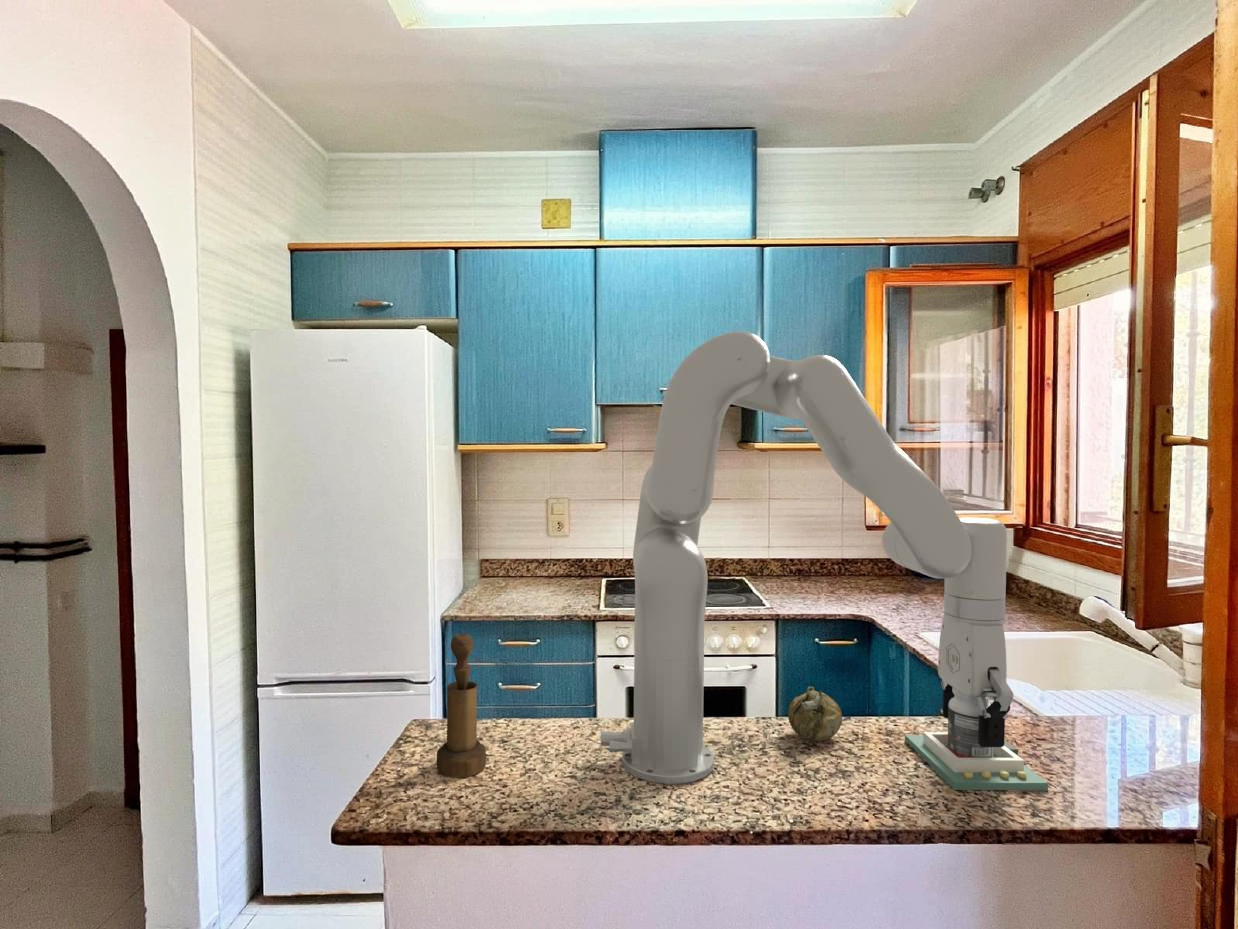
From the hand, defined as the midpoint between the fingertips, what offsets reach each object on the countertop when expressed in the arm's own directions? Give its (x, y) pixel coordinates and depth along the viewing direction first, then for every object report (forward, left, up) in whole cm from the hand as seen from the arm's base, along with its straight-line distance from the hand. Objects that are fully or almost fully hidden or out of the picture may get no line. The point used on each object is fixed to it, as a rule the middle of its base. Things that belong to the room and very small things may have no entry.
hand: (971, 731), depth 97 cm
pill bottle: (0, 0, -4) cm, 4 cm away
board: (0, 0, -5) cm, 5 cm away
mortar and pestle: (-70, -1, -5) cm, 70 cm away
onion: (-19, +9, -5) cm, 22 cm away
